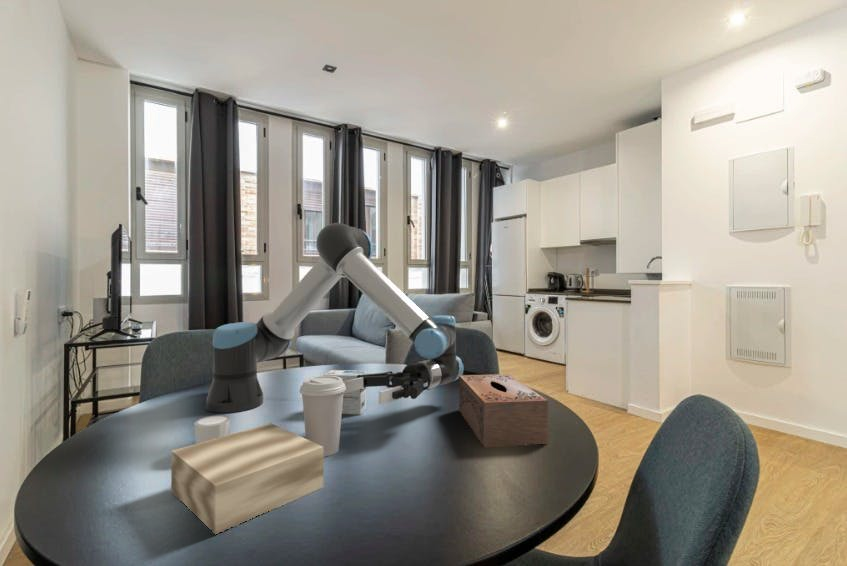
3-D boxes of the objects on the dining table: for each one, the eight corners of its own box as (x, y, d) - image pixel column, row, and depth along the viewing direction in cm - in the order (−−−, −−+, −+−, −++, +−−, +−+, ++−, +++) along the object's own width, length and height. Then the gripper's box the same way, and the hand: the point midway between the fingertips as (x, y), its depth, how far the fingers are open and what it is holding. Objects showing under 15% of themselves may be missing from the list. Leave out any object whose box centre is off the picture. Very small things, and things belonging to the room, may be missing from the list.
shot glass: (193, 463, 80) (193, 428, 80) (194, 450, 86) (194, 417, 86) (231, 456, 83) (231, 422, 83) (230, 444, 89) (230, 412, 89)
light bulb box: (367, 407, 115) (367, 369, 115) (361, 415, 109) (361, 375, 109) (330, 406, 116) (330, 369, 116) (322, 414, 110) (322, 374, 110)
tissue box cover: (547, 445, 89) (548, 400, 89) (484, 448, 88) (484, 402, 88) (508, 409, 115) (508, 374, 115) (458, 411, 113) (459, 375, 113)
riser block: (171, 492, 69) (171, 450, 69) (271, 457, 82) (271, 423, 82) (215, 535, 57) (215, 485, 57) (323, 487, 70) (323, 446, 70)
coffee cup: (297, 445, 88) (297, 377, 88) (340, 439, 92) (340, 373, 92) (302, 463, 79) (302, 387, 79) (350, 455, 83) (350, 382, 83)
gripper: (458, 398, 101) (398, 420, 85) (388, 383, 117) (327, 399, 101) (458, 368, 101) (398, 385, 85) (388, 357, 117) (327, 369, 101)
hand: (359, 392), depth 93 cm, fingers open, 13 cm apart
